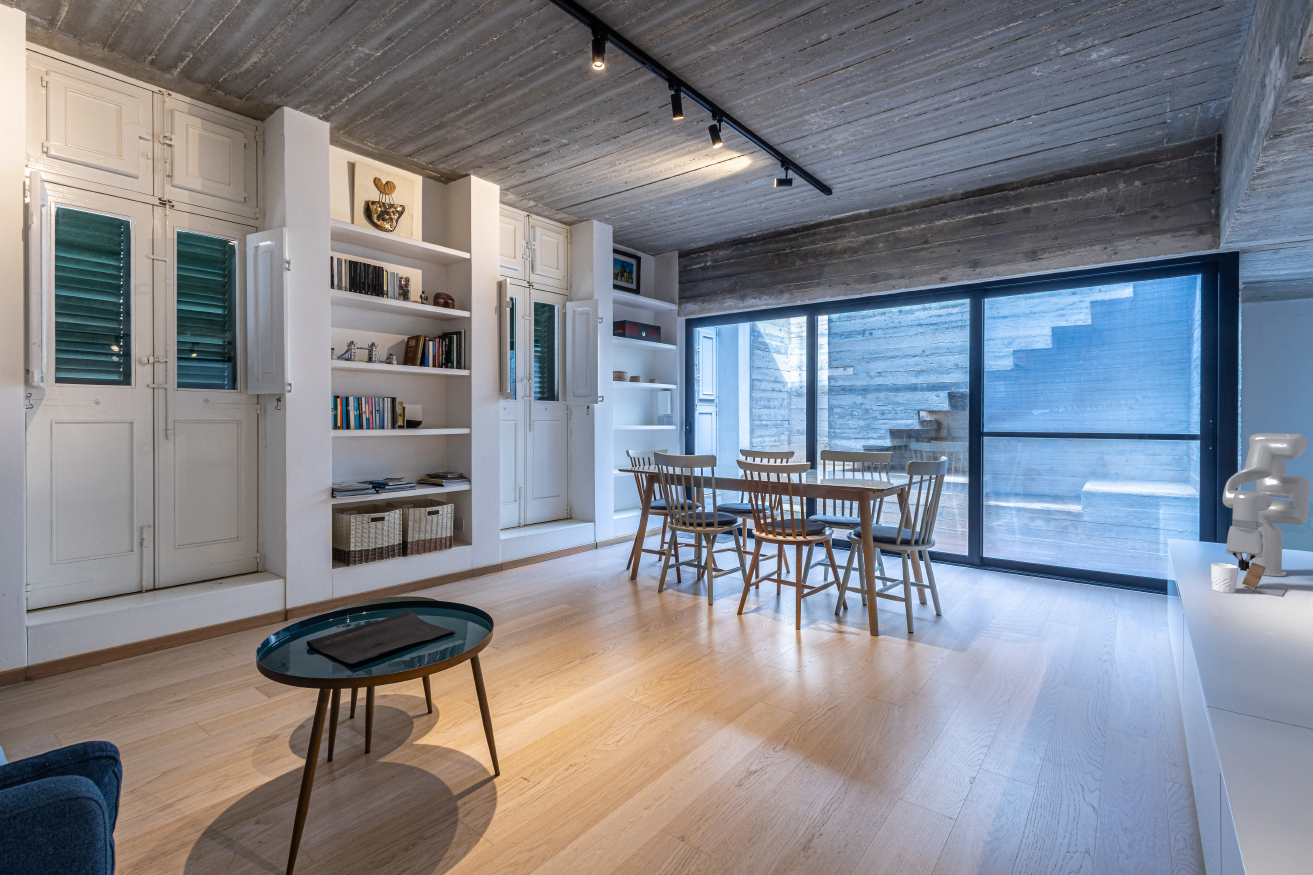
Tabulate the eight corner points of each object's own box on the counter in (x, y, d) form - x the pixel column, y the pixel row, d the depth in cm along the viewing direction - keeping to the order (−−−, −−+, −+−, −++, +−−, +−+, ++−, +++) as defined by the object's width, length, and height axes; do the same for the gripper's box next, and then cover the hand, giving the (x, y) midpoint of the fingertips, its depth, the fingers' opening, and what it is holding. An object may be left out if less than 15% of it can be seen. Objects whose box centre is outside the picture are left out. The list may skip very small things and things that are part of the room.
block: (1243, 582, 248) (1252, 562, 246) (1256, 587, 245) (1266, 567, 243) (1241, 584, 246) (1251, 564, 243) (1254, 589, 243) (1264, 568, 240)
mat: (1260, 585, 248) (1260, 584, 248) (1286, 589, 242) (1286, 588, 242) (1254, 592, 239) (1254, 591, 239) (1281, 596, 233) (1281, 595, 233)
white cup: (1226, 587, 245) (1227, 562, 245) (1243, 593, 237) (1244, 568, 237) (1204, 587, 246) (1205, 562, 245) (1220, 593, 238) (1221, 567, 237)
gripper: (1273, 525, 242) (1271, 572, 243) (1222, 520, 254) (1220, 565, 255) (1270, 528, 237) (1268, 575, 238) (1218, 523, 249) (1216, 568, 250)
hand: (1243, 570), depth 246 cm, fingers closed
